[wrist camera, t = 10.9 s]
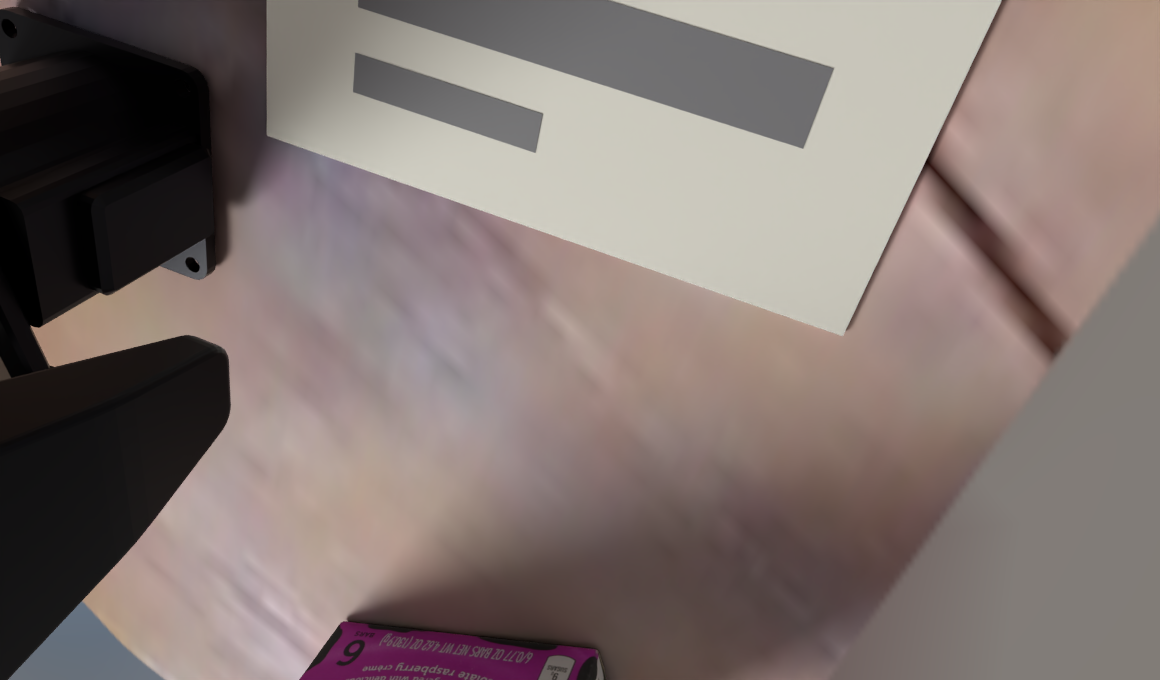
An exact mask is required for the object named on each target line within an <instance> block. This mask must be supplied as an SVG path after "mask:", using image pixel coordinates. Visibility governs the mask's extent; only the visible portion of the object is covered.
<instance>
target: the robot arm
mask: <svg viewBox="0 0 1160 680" xmlns="http://www.w3.org/2000/svg"><path fill="white" fill-rule="evenodd" d="M15 27H16V28H15ZM0 59H1V64H2V66H0V680H8V679H9V678H10V677H11V676H12V675H13V673H14V672H15V671H16V670H17V669H18V668H19V667H20V666H21V665H22V664H23V663H24V662H25V661H26V660H27V659H28V658H29V656H30V655H31V654H32V653H33V652H34V651H35V650H36V649H37V648H38V647H39V646H40V645H41V644H42V643H43V642H44V641H45V640H46V638H47V637H48V636H49V635H50V634H51V633H52V632H53V631H54V630H55V629H56V628H57V627H58V626H59V624H60V623H62V621H63V620H64V619H65V618H66V617H67V616H68V615H69V614H70V613H71V612H72V611H73V610H74V609H75V608H76V606H77V605H78V604H79V603H80V602H81V601H82V600H83V599H84V598H85V597H86V596H87V595H88V594H89V593H90V592H91V591H92V590H93V588H94V587H95V586H96V585H97V584H98V583H99V582H100V581H101V580H102V579H103V578H104V577H105V576H106V575H107V574H108V573H109V571H110V570H111V569H112V568H113V567H114V566H115V565H116V564H117V563H118V562H119V561H120V560H121V559H122V557H123V556H124V555H125V554H126V553H127V552H128V551H129V550H130V549H131V547H132V546H133V545H134V544H135V543H136V542H137V540H138V539H139V538H140V537H141V536H142V534H143V533H144V532H145V531H146V529H147V528H148V527H149V526H150V524H151V523H152V522H153V521H154V519H155V518H156V517H157V515H158V514H159V513H160V511H161V510H162V509H163V507H164V506H165V505H166V504H167V502H168V501H169V500H170V498H171V497H172V496H173V494H174V493H175V492H176V490H177V489H178V488H179V486H180V485H181V484H182V483H183V481H184V480H185V479H186V477H187V476H188V475H189V473H190V472H191V471H192V469H193V468H194V467H195V466H196V464H197V463H198V462H199V460H200V459H201V458H202V456H203V455H204V454H205V452H206V451H207V450H208V449H209V447H210V446H211V445H212V443H213V442H214V441H215V439H216V438H217V437H218V435H219V434H220V433H221V431H222V430H223V428H224V427H225V425H226V423H227V420H228V418H229V414H230V408H231V402H230V378H229V359H228V355H227V353H226V351H225V350H224V349H223V348H222V347H220V346H218V345H216V344H213V343H211V342H208V341H206V340H203V339H200V338H198V337H195V336H191V335H184V336H179V337H175V338H171V339H167V340H163V341H159V342H155V343H151V344H146V345H142V346H138V347H134V348H130V349H126V350H122V351H118V352H114V353H110V354H106V355H102V356H98V357H94V358H90V359H86V360H82V361H78V362H74V363H70V364H66V365H61V366H57V367H53V366H49V364H48V362H47V360H46V357H45V355H44V353H43V351H42V349H41V347H40V345H39V343H38V341H37V339H36V337H35V334H34V332H33V330H32V328H31V326H33V327H39V328H40V327H41V326H43V325H45V324H46V323H48V322H50V321H52V320H53V319H55V318H57V317H59V316H60V315H62V314H64V313H65V312H67V311H69V310H71V309H72V308H74V307H76V306H77V305H79V304H81V303H83V302H84V301H86V300H88V299H89V298H91V297H93V296H95V295H96V294H98V293H102V294H104V295H111V294H113V293H115V292H116V291H118V290H120V289H121V288H123V287H125V286H126V285H128V284H130V283H131V282H133V281H135V280H137V279H138V278H140V277H142V276H143V275H145V274H147V273H148V272H150V271H152V270H153V269H155V268H157V267H158V266H161V267H164V268H167V269H169V270H172V271H174V272H177V273H180V274H182V275H185V276H188V277H190V278H193V279H197V280H200V279H203V278H205V277H206V276H208V275H209V274H211V273H212V272H213V271H214V270H215V266H216V260H215V236H214V211H213V186H212V162H211V137H210V112H209V90H208V85H207V82H206V80H205V78H204V76H203V75H202V74H201V73H200V72H199V70H197V69H196V68H194V67H192V66H189V65H186V64H184V63H181V62H178V61H175V60H172V59H169V58H166V57H163V56H160V55H157V54H154V53H151V52H148V51H145V50H142V49H139V48H136V47H134V46H131V45H128V44H125V43H122V42H119V41H116V40H113V39H110V38H107V37H104V36H101V35H98V34H95V33H92V32H89V31H86V30H83V29H81V28H78V27H75V26H72V25H69V24H66V23H63V22H60V21H57V20H54V19H51V18H48V17H45V16H42V15H39V14H36V13H33V12H31V11H28V10H25V9H22V8H19V7H10V8H5V9H0ZM184 80H185V81H186V82H187V83H188V85H189V87H190V90H191V92H189V91H188V89H187V88H186V87H185V83H184ZM195 260H196V261H197V262H198V263H199V264H198V263H197V262H196V261H195ZM30 325H31V326H30Z"/></svg>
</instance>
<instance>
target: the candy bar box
mask: <svg viewBox="0 0 1160 680" xmlns="http://www.w3.org/2000/svg"><path fill="white" fill-rule="evenodd" d="M299 680H606V674H605V669H604V666H603V663H602V661H601V657H600V654H599V652H598V650H596V649H590V648H580V647H571V646H562V645H550V644H542V643H534V642H524V641H514V640H506V639H497V638H487V637H478V636H469V635H461V634H451V633H442V632H432V631H423V630H415V629H408V628H398V627H389V626H381V625H373V624H364V623H355V622H341V623H340V625H339V626H338V627H337V629H336V630H335V632H334V633H333V634H332V635H331V637H330V638H329V640H328V641H327V642H326V644H325V645H324V646H323V648H322V649H321V651H320V652H319V654H318V655H317V656H316V658H315V659H314V660H313V662H312V663H311V665H310V666H309V667H308V669H307V670H306V671H305V673H304V674H303V676H302V677H301V678H300V679H299Z"/></svg>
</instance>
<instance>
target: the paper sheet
mask: <svg viewBox="0 0 1160 680" xmlns="http://www.w3.org/2000/svg"><path fill="white" fill-rule="evenodd" d="M1001 1H1002V0H267V136H269V137H272V138H275V139H278V140H280V141H283V142H286V143H289V144H292V145H295V146H298V147H301V148H303V149H306V150H309V151H312V152H315V153H318V154H321V155H324V156H326V157H329V158H332V159H335V160H338V161H341V162H344V163H347V164H349V165H352V166H355V167H358V168H361V169H364V170H367V171H370V172H372V173H375V174H378V175H381V176H384V177H387V178H390V179H392V180H395V181H398V182H401V183H404V184H407V185H410V186H413V187H415V188H418V189H421V190H424V191H427V192H430V193H433V194H436V195H438V196H441V197H444V198H447V199H450V200H453V201H456V202H459V203H461V204H464V205H467V206H470V207H473V208H476V209H479V210H481V211H484V212H487V213H490V214H493V215H496V216H499V217H502V218H504V219H507V220H510V221H513V222H516V223H519V224H522V225H525V226H527V227H530V228H533V229H536V230H539V231H542V232H545V233H548V234H550V235H553V236H556V237H559V238H562V239H565V240H568V241H571V242H573V243H576V244H579V245H582V246H585V247H588V248H591V249H593V250H596V251H599V252H602V253H605V254H608V255H611V256H614V257H616V258H619V259H622V260H625V261H628V262H631V263H634V264H637V265H639V266H642V267H645V268H648V269H651V270H654V271H657V272H660V273H662V274H665V275H668V276H671V277H674V278H677V279H680V280H682V281H685V282H688V283H691V284H694V285H697V286H700V287H703V288H705V289H708V290H711V291H714V292H717V293H720V294H723V295H726V296H728V297H731V298H734V299H737V300H740V301H743V302H746V303H749V304H751V305H754V306H757V307H760V308H763V309H766V310H769V311H772V312H774V313H777V314H780V315H783V316H786V317H789V318H792V319H794V320H797V321H800V322H803V323H806V324H809V325H812V326H815V327H817V328H820V329H823V330H826V331H829V332H832V333H835V334H838V335H840V336H843V335H844V333H845V330H846V328H847V326H848V324H849V322H850V320H851V318H852V316H853V314H854V311H855V309H856V307H857V305H858V303H859V301H860V299H861V297H862V295H863V292H864V290H865V288H866V286H867V284H868V282H869V280H870V278H871V276H872V273H873V271H874V269H875V267H876V265H877V263H878V261H879V259H880V257H881V254H882V252H883V250H884V248H885V246H886V244H887V242H888V240H889V238H890V235H891V233H892V231H893V229H894V227H895V225H896V223H897V221H898V219H899V216H900V214H901V212H902V210H903V208H904V206H905V204H906V202H907V200H908V197H909V195H910V193H911V191H912V189H913V187H914V185H915V183H916V181H917V178H918V176H919V174H920V172H921V170H922V168H923V166H924V164H925V162H926V159H927V157H928V155H929V153H930V151H931V149H932V147H933V145H934V143H935V140H936V138H937V136H938V134H939V132H940V130H941V128H942V126H943V124H944V121H945V119H946V117H947V115H948V113H949V111H950V109H951V107H952V105H953V102H954V100H955V98H956V96H957V94H958V92H959V90H960V88H961V86H962V83H963V81H964V79H965V77H966V75H967V73H968V71H969V69H970V67H971V64H972V62H973V60H974V58H975V56H976V54H977V52H978V50H979V48H980V45H981V43H982V41H983V39H984V37H985V35H986V33H987V31H988V29H989V26H990V24H991V22H992V20H993V18H994V16H995V14H996V12H997V10H998V7H999V5H1000V3H1001Z"/></svg>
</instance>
